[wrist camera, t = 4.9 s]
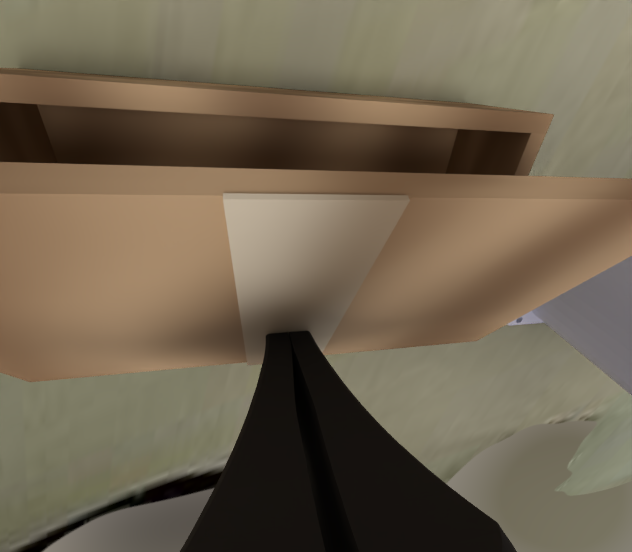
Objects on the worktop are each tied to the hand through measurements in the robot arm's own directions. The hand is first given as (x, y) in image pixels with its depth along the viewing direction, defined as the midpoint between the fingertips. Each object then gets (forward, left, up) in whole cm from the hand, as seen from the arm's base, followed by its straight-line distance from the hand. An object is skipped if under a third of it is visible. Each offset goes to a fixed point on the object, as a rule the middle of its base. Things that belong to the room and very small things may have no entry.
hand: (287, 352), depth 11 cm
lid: (0, -2, 0) cm, 2 cm away
